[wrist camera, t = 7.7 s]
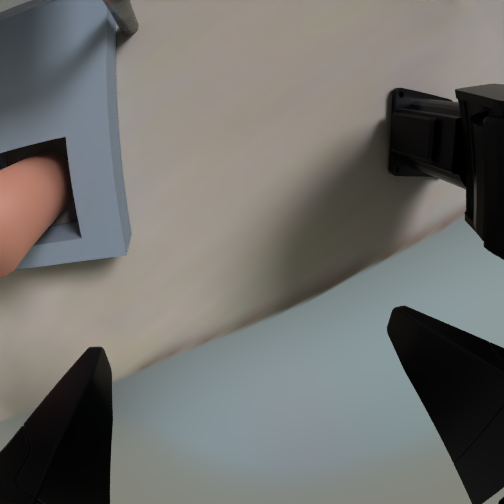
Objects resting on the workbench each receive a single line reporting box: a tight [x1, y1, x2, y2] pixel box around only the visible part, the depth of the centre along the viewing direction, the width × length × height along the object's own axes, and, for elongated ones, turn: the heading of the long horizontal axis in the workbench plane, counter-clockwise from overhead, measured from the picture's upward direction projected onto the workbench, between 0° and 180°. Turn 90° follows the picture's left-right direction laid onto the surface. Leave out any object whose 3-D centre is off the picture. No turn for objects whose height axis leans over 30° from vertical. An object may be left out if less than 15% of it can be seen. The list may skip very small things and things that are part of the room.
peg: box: [0, 152, 74, 278], centre depth 13 cm, size 4×4×8 cm
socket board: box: [0, 0, 131, 270], centre depth 13 cm, size 10×18×3 cm, turn 1°
